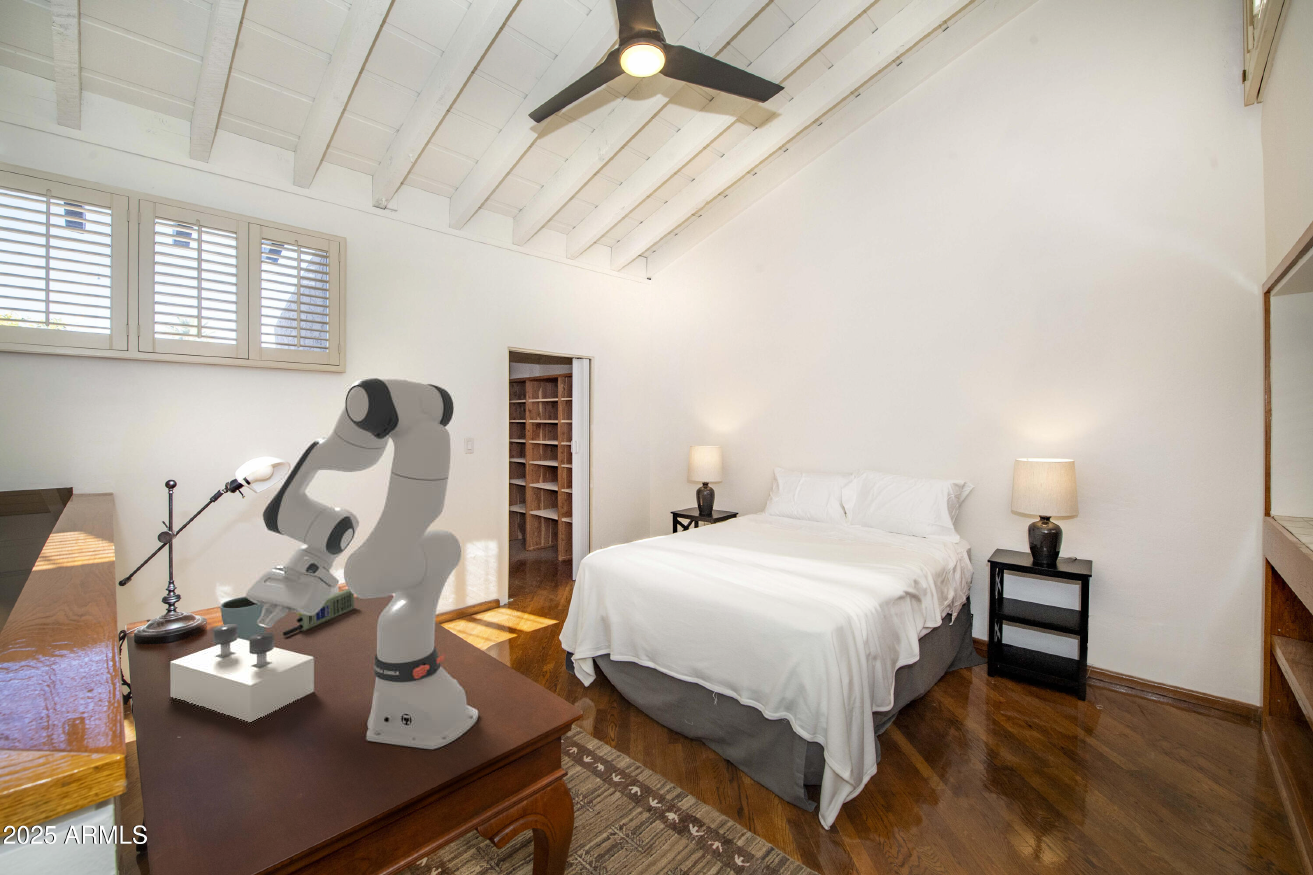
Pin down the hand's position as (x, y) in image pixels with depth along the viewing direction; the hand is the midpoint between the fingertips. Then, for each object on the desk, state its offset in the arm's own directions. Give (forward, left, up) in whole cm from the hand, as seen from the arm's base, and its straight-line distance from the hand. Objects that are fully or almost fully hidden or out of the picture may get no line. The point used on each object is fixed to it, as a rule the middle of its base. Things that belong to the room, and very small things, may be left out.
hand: (263, 625), depth 121 cm
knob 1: (+12, 0, -9) cm, 15 cm away
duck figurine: (+44, -48, -17) cm, 67 cm away
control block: (+6, 0, -17) cm, 18 cm away
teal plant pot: (+32, -17, -17) cm, 40 cm away
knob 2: (0, 0, -9) cm, 9 cm away
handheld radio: (+29, -37, -17) cm, 50 cm away
